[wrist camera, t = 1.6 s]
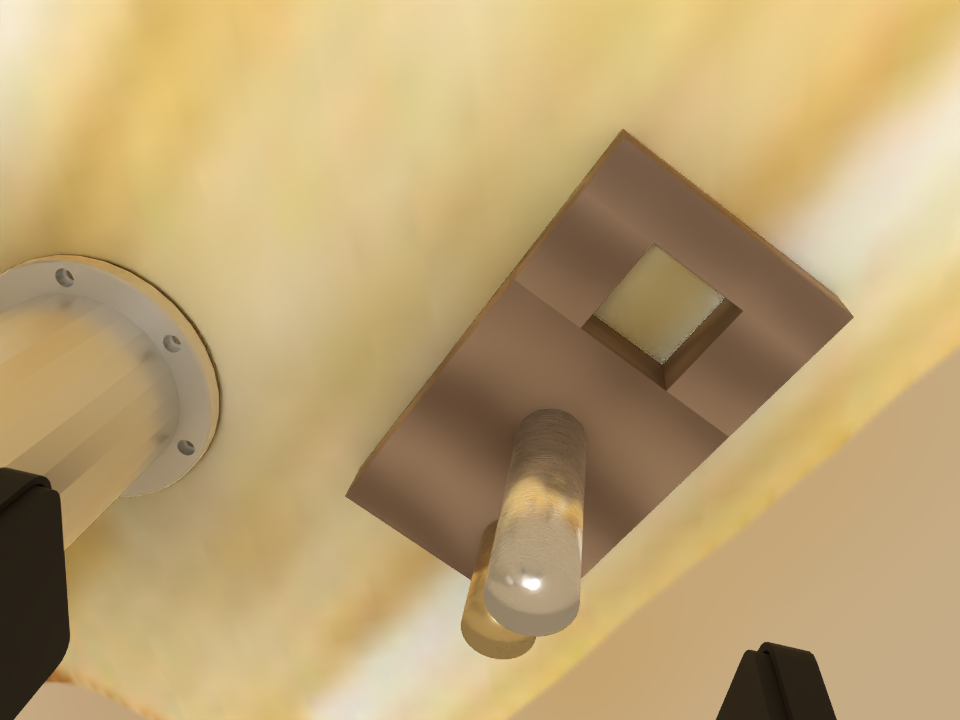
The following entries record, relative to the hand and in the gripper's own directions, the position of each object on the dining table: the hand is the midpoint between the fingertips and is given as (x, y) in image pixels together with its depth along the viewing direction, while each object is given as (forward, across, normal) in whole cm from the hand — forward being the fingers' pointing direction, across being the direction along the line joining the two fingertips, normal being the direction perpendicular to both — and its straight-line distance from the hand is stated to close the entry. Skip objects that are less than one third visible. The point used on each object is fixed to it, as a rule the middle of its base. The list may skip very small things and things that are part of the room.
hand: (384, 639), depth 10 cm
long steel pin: (+22, -3, +8) cm, 23 cm away
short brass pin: (+22, -2, +14) cm, 26 cm away
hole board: (+24, -4, +7) cm, 25 cm away
